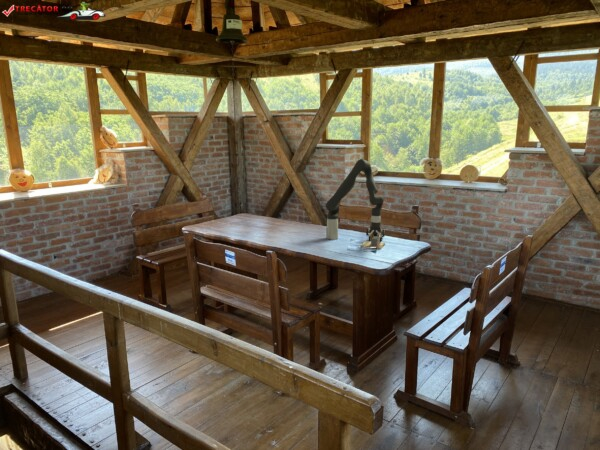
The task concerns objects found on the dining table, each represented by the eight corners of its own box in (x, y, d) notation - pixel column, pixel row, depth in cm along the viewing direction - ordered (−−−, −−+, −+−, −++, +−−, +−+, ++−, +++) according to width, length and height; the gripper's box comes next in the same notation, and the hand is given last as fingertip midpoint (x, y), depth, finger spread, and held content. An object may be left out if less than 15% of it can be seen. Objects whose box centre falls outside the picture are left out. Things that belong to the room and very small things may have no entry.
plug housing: (370, 245, 345) (371, 239, 344) (374, 242, 355) (374, 236, 354) (377, 246, 343) (377, 239, 342) (380, 242, 353) (380, 236, 352)
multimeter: (369, 242, 362) (370, 218, 358) (365, 239, 371) (366, 216, 367) (386, 241, 364) (387, 217, 360) (382, 238, 374) (382, 215, 370)
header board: (360, 247, 346) (360, 241, 345) (365, 243, 360) (365, 236, 359) (380, 249, 340) (380, 242, 339) (385, 244, 354) (385, 238, 353)
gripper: (365, 221, 344) (365, 241, 348) (383, 222, 339) (383, 243, 342) (368, 219, 351) (367, 239, 354) (386, 221, 346) (385, 241, 349)
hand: (375, 241), depth 348 cm, fingers open, 8 cm apart
